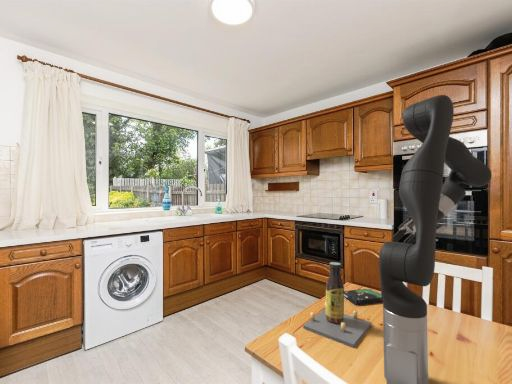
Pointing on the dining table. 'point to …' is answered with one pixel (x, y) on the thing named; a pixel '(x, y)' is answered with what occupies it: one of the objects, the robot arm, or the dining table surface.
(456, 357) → the dining table surface
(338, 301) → the sauce bottle
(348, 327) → the standoff mount
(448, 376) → the dining table surface
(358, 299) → the disk drive
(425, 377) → the robot arm
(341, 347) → the dining table surface
